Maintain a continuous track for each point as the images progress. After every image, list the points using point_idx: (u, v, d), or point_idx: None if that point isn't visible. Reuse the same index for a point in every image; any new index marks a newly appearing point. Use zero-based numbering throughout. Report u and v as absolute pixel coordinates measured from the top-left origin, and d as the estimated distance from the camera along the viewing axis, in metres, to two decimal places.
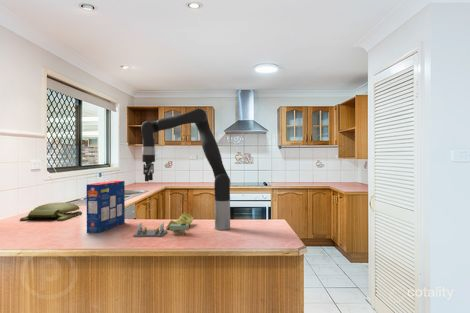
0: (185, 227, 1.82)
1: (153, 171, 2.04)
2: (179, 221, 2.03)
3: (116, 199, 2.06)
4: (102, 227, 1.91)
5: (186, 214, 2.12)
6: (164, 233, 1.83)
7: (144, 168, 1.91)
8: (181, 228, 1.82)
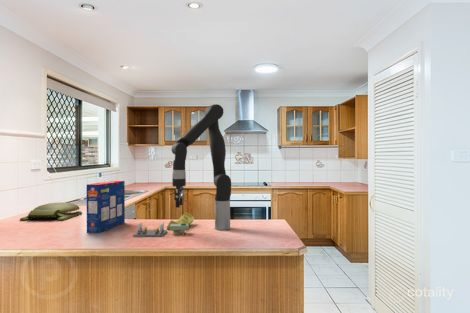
0: (185, 227, 1.82)
1: None
2: (180, 221, 2.03)
3: (116, 199, 2.06)
4: (102, 227, 1.91)
5: (187, 214, 2.12)
6: (164, 233, 1.83)
7: (175, 193, 1.78)
8: (181, 228, 1.82)
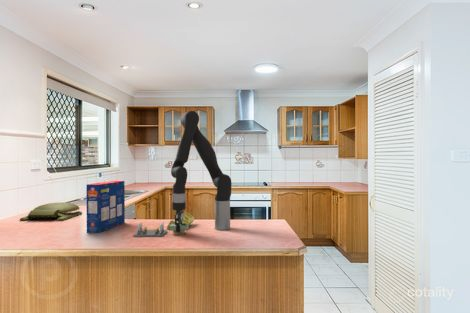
0: (185, 227, 1.82)
1: (182, 219, 1.91)
2: None
3: (116, 198, 2.06)
4: (102, 227, 1.91)
5: (187, 214, 2.12)
6: (164, 233, 1.83)
7: (175, 219, 1.79)
8: (181, 228, 1.82)
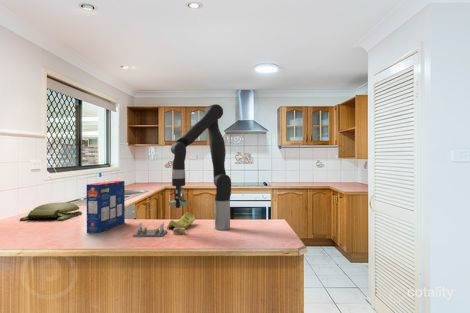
0: (185, 203, 1.82)
1: (182, 196, 1.90)
2: (180, 221, 2.04)
3: (116, 198, 2.06)
4: (102, 227, 1.91)
5: (188, 214, 2.12)
6: (164, 233, 1.83)
7: (175, 194, 1.79)
8: (181, 204, 1.82)
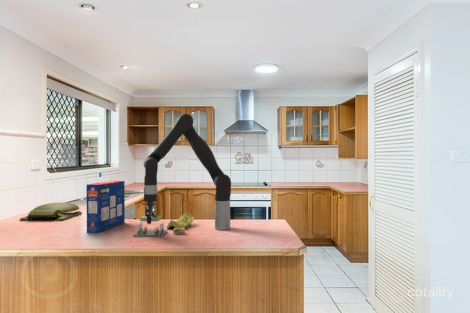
0: (156, 219, 1.81)
1: (155, 211, 1.90)
2: (180, 221, 2.04)
3: (116, 199, 2.06)
4: (102, 227, 1.91)
5: (187, 214, 2.13)
6: (164, 233, 1.83)
7: (146, 211, 1.78)
8: (152, 220, 1.81)
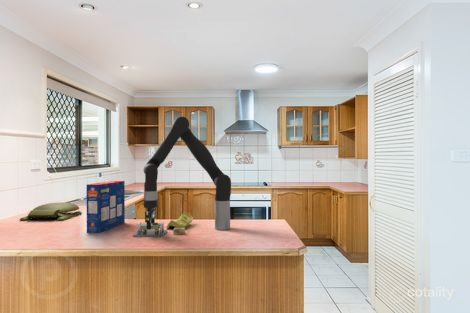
0: (156, 226, 1.81)
1: (155, 216, 1.90)
2: (179, 221, 2.04)
3: (116, 198, 2.06)
4: (102, 227, 1.91)
5: (186, 214, 2.13)
6: (164, 233, 1.83)
7: (146, 216, 1.78)
8: (152, 227, 1.81)
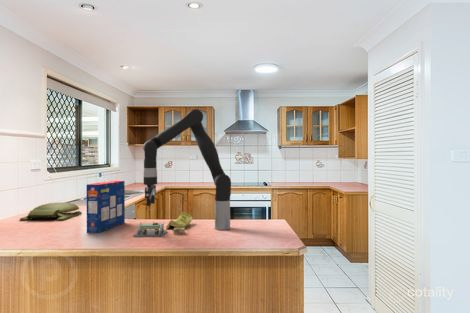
0: (156, 226, 1.81)
1: (155, 193, 1.91)
2: (178, 221, 2.04)
3: (116, 199, 2.06)
4: (102, 227, 1.91)
5: (185, 214, 2.14)
6: (164, 233, 1.83)
7: (146, 192, 1.77)
8: (152, 227, 1.81)
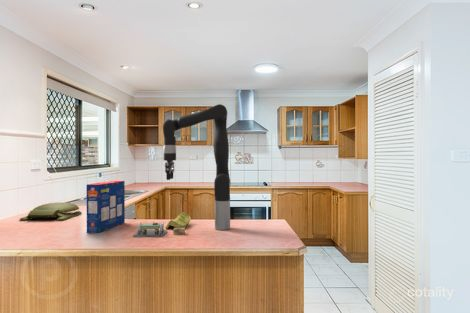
0: (156, 226, 1.81)
1: (173, 169, 2.04)
2: (177, 221, 2.05)
3: (116, 199, 2.06)
4: (102, 227, 1.91)
5: (183, 214, 2.14)
6: (164, 233, 1.83)
7: (166, 166, 1.91)
8: (152, 227, 1.81)
